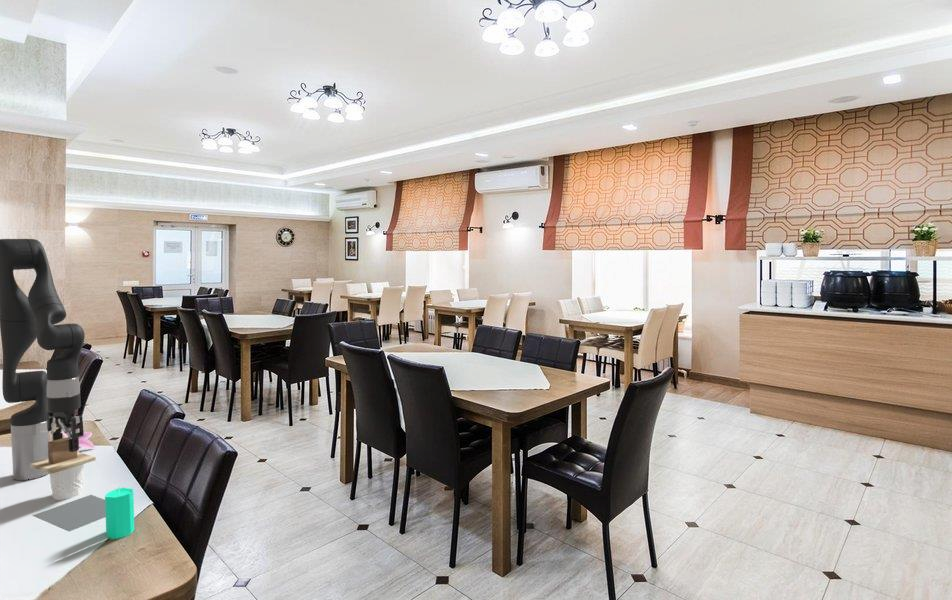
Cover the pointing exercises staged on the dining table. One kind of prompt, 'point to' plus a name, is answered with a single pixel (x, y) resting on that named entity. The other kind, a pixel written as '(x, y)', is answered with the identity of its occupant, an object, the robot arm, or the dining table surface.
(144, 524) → the dining table surface
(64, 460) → the lid
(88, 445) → the lily
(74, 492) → the white cup
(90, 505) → the mat
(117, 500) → the candle
